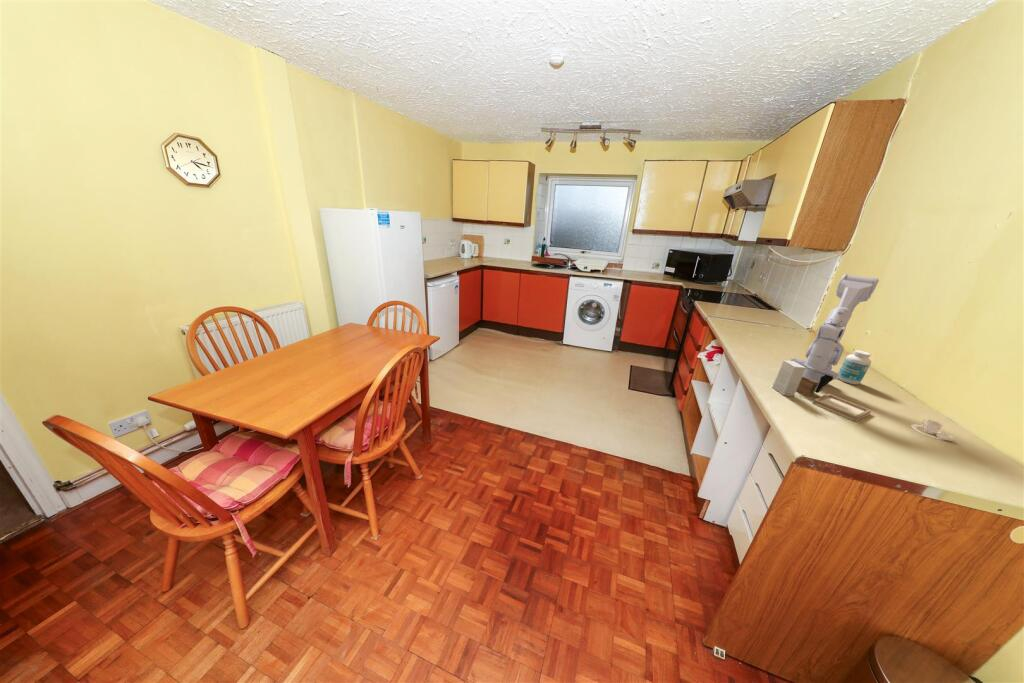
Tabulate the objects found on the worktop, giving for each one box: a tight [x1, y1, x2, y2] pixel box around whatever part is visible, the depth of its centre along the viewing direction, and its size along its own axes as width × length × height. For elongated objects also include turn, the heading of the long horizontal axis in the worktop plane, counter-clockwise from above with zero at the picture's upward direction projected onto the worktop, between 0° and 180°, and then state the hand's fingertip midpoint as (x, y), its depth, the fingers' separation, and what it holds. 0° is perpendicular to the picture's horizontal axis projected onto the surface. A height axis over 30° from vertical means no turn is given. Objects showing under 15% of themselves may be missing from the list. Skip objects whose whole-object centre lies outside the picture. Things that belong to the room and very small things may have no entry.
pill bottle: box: [837, 349, 872, 385], centre depth 136 cm, size 8×7×14 cm
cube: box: [796, 376, 819, 396], centre depth 126 cm, size 5×5×5 cm
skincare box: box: [771, 359, 806, 397], centre depth 123 cm, size 6×4×12 cm
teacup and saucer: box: [911, 419, 956, 442], centre depth 105 cm, size 9×8×4 cm
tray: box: [812, 393, 872, 422], centre depth 116 cm, size 12×12×2 cm
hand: (805, 387), depth 126 cm, fingers open, 7 cm apart
